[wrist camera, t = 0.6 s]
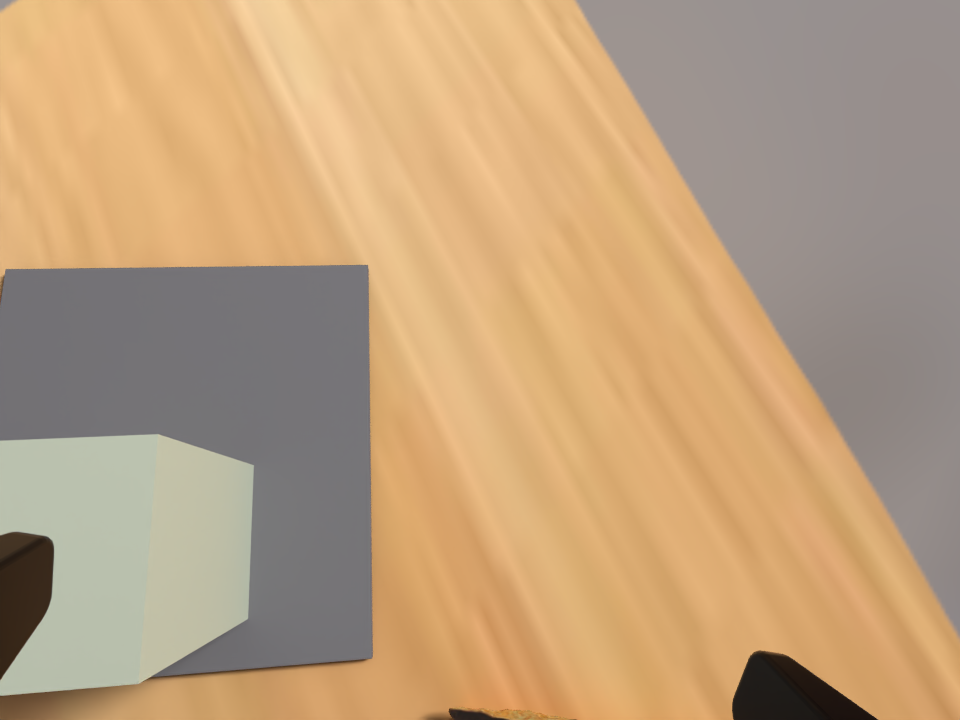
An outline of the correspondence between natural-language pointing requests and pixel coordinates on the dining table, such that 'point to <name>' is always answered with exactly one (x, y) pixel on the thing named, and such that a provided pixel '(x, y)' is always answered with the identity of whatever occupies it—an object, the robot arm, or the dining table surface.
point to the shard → (498, 715)
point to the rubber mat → (223, 419)
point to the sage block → (127, 554)
